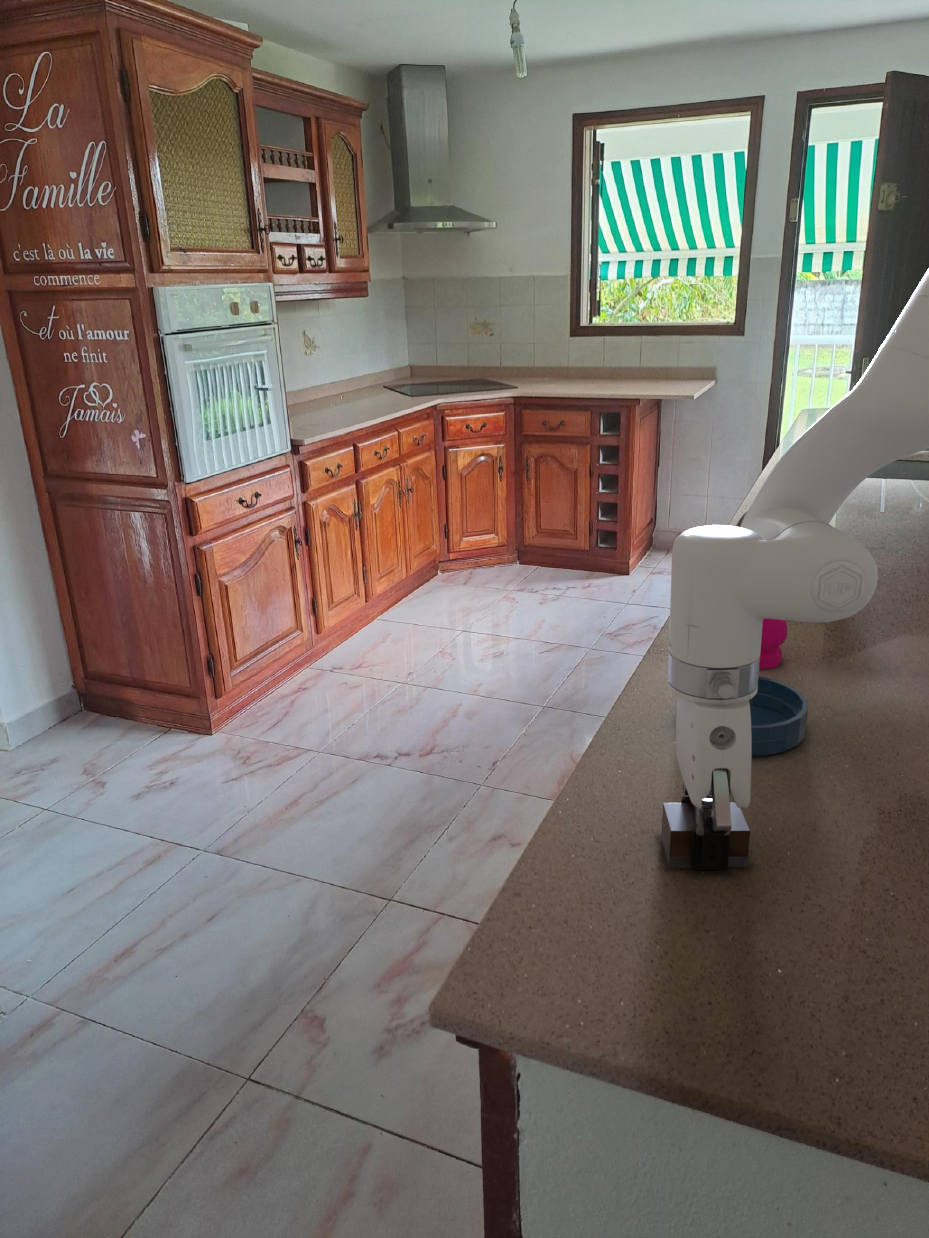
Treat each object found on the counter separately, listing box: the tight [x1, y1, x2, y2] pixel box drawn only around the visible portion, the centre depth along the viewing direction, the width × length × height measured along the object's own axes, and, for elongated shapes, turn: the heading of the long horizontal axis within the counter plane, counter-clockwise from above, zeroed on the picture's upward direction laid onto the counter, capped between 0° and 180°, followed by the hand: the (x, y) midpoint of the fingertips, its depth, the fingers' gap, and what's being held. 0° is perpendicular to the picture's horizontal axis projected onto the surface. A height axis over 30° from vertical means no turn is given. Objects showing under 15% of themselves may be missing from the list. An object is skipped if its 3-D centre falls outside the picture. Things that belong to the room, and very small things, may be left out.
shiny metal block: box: [660, 802, 751, 868], centre depth 81 cm, size 7×4×4 cm, turn 87°
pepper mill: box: [759, 619, 788, 670], centre depth 118 cm, size 7×7×20 cm
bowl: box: [749, 675, 809, 757], centre depth 103 cm, size 14×14×4 cm
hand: (703, 848), depth 82 cm, fingers closed on shiny metal block, 4 cm apart
